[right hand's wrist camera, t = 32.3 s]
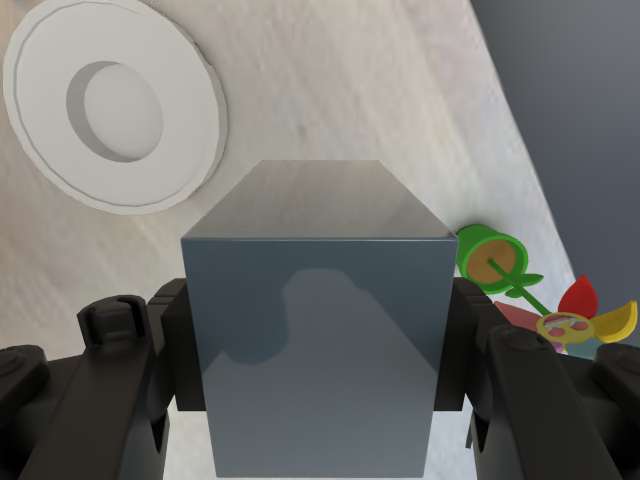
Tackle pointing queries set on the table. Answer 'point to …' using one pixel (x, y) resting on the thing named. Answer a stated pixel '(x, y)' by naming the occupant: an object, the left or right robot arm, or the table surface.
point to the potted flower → (559, 328)
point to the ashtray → (114, 104)
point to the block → (319, 321)
